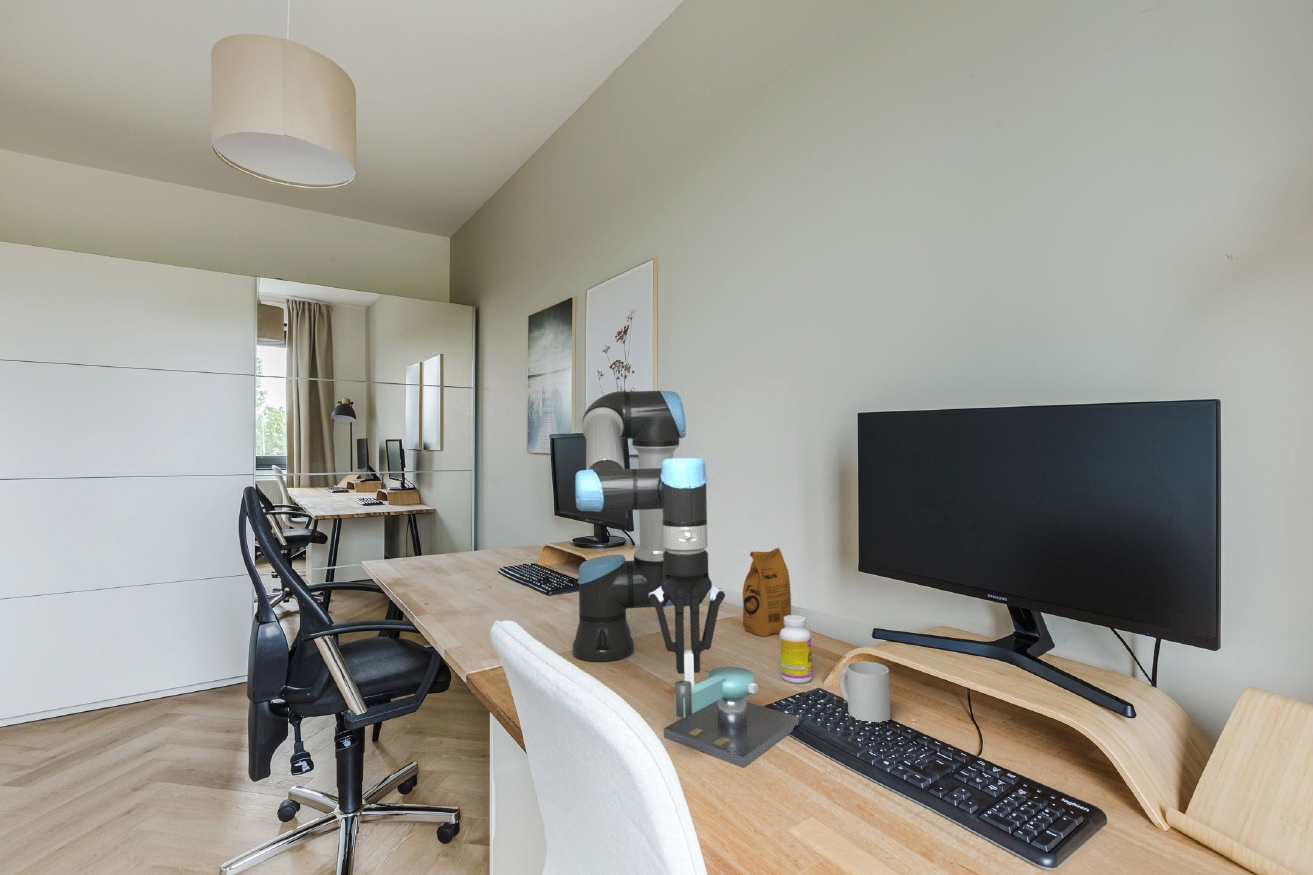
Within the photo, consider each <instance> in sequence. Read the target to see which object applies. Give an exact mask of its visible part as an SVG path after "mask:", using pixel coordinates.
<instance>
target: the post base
mask: <svg viewBox="0 0 1313 875" xmlns="http://www.w3.org/2000/svg"><path fill="white" fill-rule="evenodd" d="M798 722H799V723H800V717H799V716H797V715H796V716H795V715H793V714H790V713H785V712H782V711H779V710H775V709H772V708H769V707H767V706H766V707H765V706H762V705H758V704H755V703H752V702H749V701H747V696H746V697H742V698H724V697H723V698H721V699H719V700H717V701H715V702H713V703H711V704H709V705H708V706H706V707H704V708H702V709H700V710H698V711H696V712H694V713H693V714H692V715H691V716H689V717H685V718H684V717H681V718H680V719H678V720H677V721H675V722H673V723H671V724H669V725H667V726H666V727H664V728H663V737H664V738H665V739H668V740H669V741H673V742H675V743H678V744H681V745H682V746H683V745H684V746H685V747H689V748H691V749H694V750H696V751H699V752H702V753H704V754H706V755H709V756H712V757H714V758H717V759H719V760H723V761H725V762H728V763H730V764H733V765H736V766H737V767H741V768H746V766H748V765H749V764H751V763H752V762H753V761H754V760H756V759H758V758H759V757H760V756H761V755H763V754H764V753H765V752H767V751H768V750H769V749H771V748H772V747H773V746H775V745H776V744H777V743H779V742H780V741H781V740H782V739H784V738H785V737H786V736H788V735H789V734H791V733H792V732H793V731H794V730H793V728H794V726H795V725H796V724H797V723H798Z"/></svg>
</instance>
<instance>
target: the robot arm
mask: <svg viewBox="0 0 1313 875" xmlns="http://www.w3.org/2000/svg"><path fill="white" fill-rule="evenodd" d="M686 424H687V423H686V414H685V410H684V405H683V401H682V399H681V396H680V394H678V393H677V392H675V391H669V390H642V391H641V390H639V391H636V390H635V391H633V390H631V391H624V390H621V391H620V390H619V391H613V392H609V393H607V394H605V395H603V396H601V397H599V398H597V399H596V400H595V401H594V402H592V403H591V404H590V405H589V407H587V409H586V411H585V412H584V414H583V416H582V420H581V430H582V434H583V436H584V438H585V439H586V440H585V441H586V444H585V446H586V448H585V449H586V450H585V451H586V452H585V453H586V454H585V457H586V458H585V462H586V464H585V467H586V468H585V469H584V470H583V469H582V470H579V471H577V472H576V474H575V481H574V482H575V505H576V508H577V509H578V510H579V511H581V512H596V513H599V512H600V513H601V512H610V511H611V512H612V511H615V512H616V511H638V512H639V513H638V514H639V516H638V518H639V519H638V520H639V524H638V525H639V546H638V548H637V549H635V551H634V552H633V559H632V560H626V557H625V555H624V554H608V555H603V556H597V557H593V558H589V559H587V560H584V561H583V562H582V563H581V564H580V566H579V568H578V580H577V583H578V593H579V594H578V600H579V601H578V603H579V604H578V605H579V606H578V609H579V610H578V611H579V612H578V616H579V619H578V620H579V622H578V625H577V626H578V627H577V630H576V634H575V639H574V640H573V643H572V655H573V656H574V657H575V658H577V659H578V658H579V660H581V659H583V660H582V661H586V662H600V661H601V662H612V661H617V660H616V659H618V660H621V659H624V658H627V657H629V656H632V654H633V653H634V650H635V647H634V646H635V643H634V638H633V637H632V634H631V631H630V627H629V626H630V625H629V624H628V621H627V609H639V608H641V609H642V608H654V609H655V612H656V616H657V619H658V623H659V626H660V631H661V633H662V639H663V642H664V646H665V649H666V651H667V652H672V653H675V661H676V662H675V665H676V666H675V668H676V671H677V674H681V675H682V681H683V680H684V681H689V682H691V687H692V686H694V685H695V674H698V673H700V671H701V654H702V652H703V651H705V650H710V649H711V647H712V643H713V639H714V633H715V630H716V629H715V628H716V624H717V618H718V615H719V614H718V613H719V609H720V605H721V604H722V602H723V600H724V599H725V597H726V593H725V592H724V590H723V589H721V588H717V587H716V586H714V585H713V583H712V581H711V579H710V576H709V553H708V551H707V550H706V549H707V547H708V545H709V544H708V517H707V516H708V513H707V512H708V511H707V510H708V509H707V507H708V506H707V505H708V502H707V482H708V476H707V470H706V469H707V468H706V462H705V460H704V459H703V458H701V457H675V458H674V452H675V451H676V449H677V448H679V447H680V439H684V438H685V437H686V434H687V430H686V429H687V425H686ZM622 439H624V440H632V441H631V442H632V444H631V446H632V448H633V449H635V451H637V453H638V468H625V461H624V453H623V447H622ZM707 595H709V596H708V597H709V599H710V600H709V604H708V609H707V613H706V619H705V622H704V623H705V624H704V627H703V633H702V636H700V635H701V633H700V632H701V631H700V605H701V604H702V602H703V601H704V599H705V598H706V596H707ZM672 606H674V626H675V630H674V632H675V633H674V635H675V637H674V638H675V642H674V641H673V640H672V637H671V633H670V630H669V626H668V622H667V618H666V615H665V614H666V613H665V610H664V608H666V607H672ZM685 607H689V615H690V616H689V617H690V618H689V621H690V624H689V625H690V647H691V649H685V628H684V627H685V624H684V622H685V621H684V620H685V617H684V616H685V615H684V614H685ZM701 637H702V638H701Z"/></svg>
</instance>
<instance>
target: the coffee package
mask: <svg viewBox="0 0 1313 875" xmlns="http://www.w3.org/2000/svg"><path fill="white" fill-rule="evenodd" d="M749 555H750V557H751V558H752V561H751V564H750V568H749V571H748V572H747V575H746V576H745V580H744V582H743V587H742V607H743V608H742V609H743V610H742V613H743V614H742V618H743V619H742V622H743V623H742V625H743V627H744V631H745V632H749V633H751V634H753V635H756V636H758V637H763V638H765V637H768V636H771V635H774V634H776V635H780V631H781V630H782V629H783V628H785V625H784V617H785V616H788V615H792V595H791V594H792V593H791V583H790V582H791V581H790V575H789V574H790V573H789V570H788V567H787V563H786V562H785V560H784V556H783V554H782V551H781V549H780V547H776V548H774V549H772V550H771V551H750V554H749Z"/></svg>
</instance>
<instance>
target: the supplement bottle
mask: <svg viewBox="0 0 1313 875" xmlns="http://www.w3.org/2000/svg"><path fill="white" fill-rule="evenodd" d="M806 624H807V619H806V617H804V616H803V615H802V616H801V615H796V614H791V615H788V616H785V617H784V625H785V628H783V629H782V630H781V631H780V634H779V657H780V659H779V662H780V663H779V664H780V677H781V679H782V680H784V681H786V682H789V683H793V684H805V683H808V682H810V681H812V679H813V655H812V653H813V652H812V634H811V632H810V631H809V630H808V629H807V628H806Z"/></svg>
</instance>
